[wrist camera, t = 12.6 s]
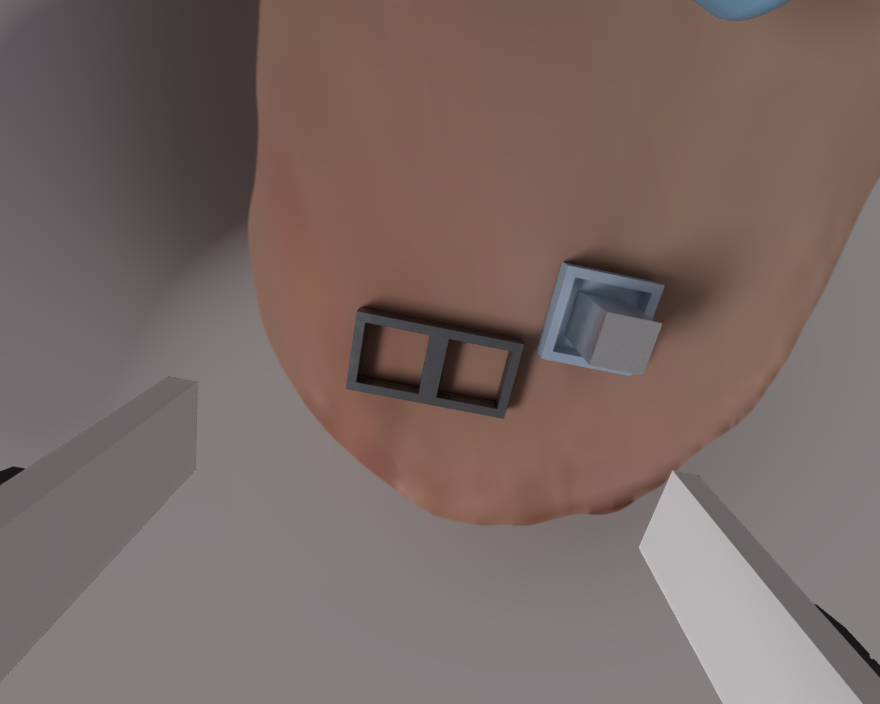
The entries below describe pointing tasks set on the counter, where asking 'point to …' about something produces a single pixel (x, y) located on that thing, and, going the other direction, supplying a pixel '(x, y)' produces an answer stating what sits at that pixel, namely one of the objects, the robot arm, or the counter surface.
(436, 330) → the rack frame
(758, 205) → the counter surface
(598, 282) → the parts tray
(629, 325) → the grey rectangular block
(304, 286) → the counter surface
